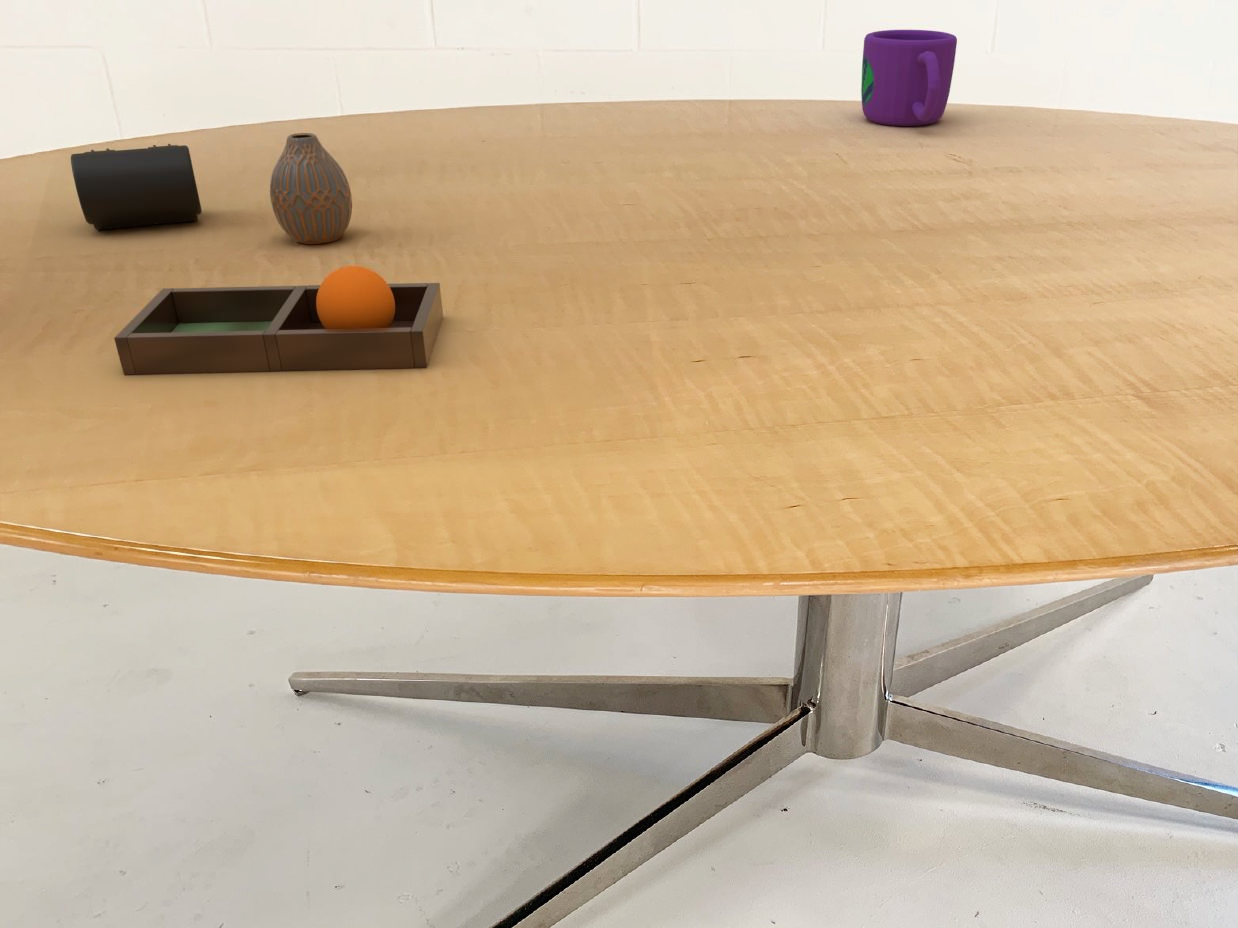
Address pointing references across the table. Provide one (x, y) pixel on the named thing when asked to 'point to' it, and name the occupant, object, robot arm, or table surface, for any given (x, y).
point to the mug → (907, 76)
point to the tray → (273, 332)
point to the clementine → (355, 300)
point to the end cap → (136, 186)
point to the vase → (310, 192)
